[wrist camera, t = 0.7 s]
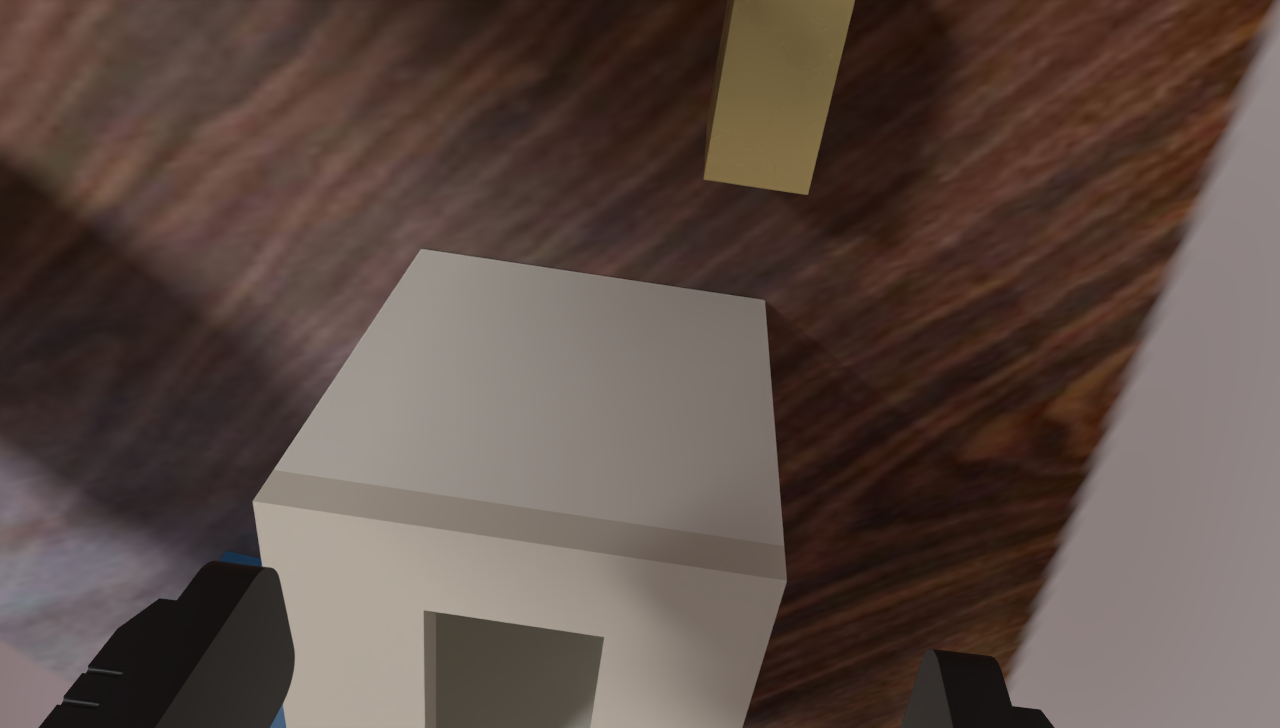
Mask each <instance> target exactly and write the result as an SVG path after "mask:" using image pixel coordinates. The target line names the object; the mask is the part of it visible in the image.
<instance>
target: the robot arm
mask: <svg viewBox="0 0 1280 728" xmlns="http://www.w3.org/2000/svg"><path fill="white" fill-rule="evenodd" d="M294 665H295V650H294V644H293V640H292V635H291V630H290V625H289V621H288V616H287V611H286V606H285V601H284V597H283V592H282V587H281V582H280V578H279V575H278V573H277V571H276V570H275V569H273V568H271V567H263V566H254V565H246V564H238V563H229V562H221V561H211V562H209V563H207V564H206V565H205V566H203V567H202V568H201V569H200V571H199V572H198V573H197V574H196V576H195V577H194V578H193V580H192V581H191V582H190V584H189V585H188V586H187V588H186V589H185V590H184V592H183V593H182V594H181V596H180V597H179V598H178V600H177V601H176V600H168V599H160V598H159V599H158V600H157V601H155V602H154V603H153V604H151V605H150V606H148V607H147V608H146V609H144V610H143V611H141V612H140V613H139V614H137V615H136V616H134V617H133V618H132V619H130V620H129V621H128V622H126V623H125V624H123V625H122V626H121V627H119V628H118V629H117V630H116V631H115V633H114V634H113V635H112V636H111V638H110V639H109V640H108V641H107V643H106V644H105V645H104V646H103V648H102V649H101V650H100V651H99V653H98V654H97V655H96V656H95V658H94V659H93V660H92V661H91V663H90V664H89V665H88V671H87V672H86V673H82V674H81V675H80V677H79V678H78V679H77V680H76V682H75V683H74V684H73V685H72V687H71V688H70V689H69V690H68V692H67V693H66V694H65V695H64V700H63V702H62V704H61V705H56V707H55V708H54V709H53V710H52V712H51V713H50V714H49V716H48V717H47V718H46V719H45V720H44V722H43V723H42V724H41V725H40V727H39V728H270V727H271V725H272V723H273V721H274V719H275V718H276V716H277V714H278V712H279V710H280V708H281V706H282V705H283V703H284V700H285V698H286V696H287V694H288V691H289V688H290V685H291V681H292V677H293V672H294ZM901 728H1054V727H1053V725H1052V724H1051V723H1050V721H1049V720H1048V719H1047V718H1046V716H1045V715H1044V714H1043V712H1042V711H1041V710H1039V709H1031V708H1022V707H1015V706H1012V704H1011V701H1010V698H1009V694H1008V691H1007V688H1006V684H1005V681H1004V678H1003V674H1002V671H1001V668H1000V666H999V664H998V662H997V661H996V659H995V658H993V657H991V656H984V655H976V654H968V653H959V652H951V651H943V650H934V649H928V650H927V651H926V652H925V654H924V656H923V658H922V661H921V664H920V668H919V671H918V674H917V677H916V680H915V683H914V687H913V690H912V693H911V696H910V699H909V702H908V706H907V709H906V712H905V715H904V718H903V721H902V724H901Z"/></svg>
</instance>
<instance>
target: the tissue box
mask: <svg viewBox="0 0 1280 728" xmlns="http://www.w3.org/2000/svg"><path fill="white" fill-rule="evenodd" d="M253 507H254V514H255V521H256V527H257V534H258V541H259V548H260V554H261V561H262V566H263V567H271V568H273V569H275V570H276V571H277V573H278V575H279V578H280V582H281V587H282V592H283V597H284V601H285V606H286V611H287V616H288V621H289V625H290V630H291V635H292V640H293V644H294V650H295V665H294V672H293V677H292V681H291V685H290V688H289V691H288V694H287V696H286V698H285V700H284V703H283V708H284V715H285V721H286V728H742V727H743V724H744V720H745V717H746V714H747V710H748V707H749V704H750V701H751V697H752V694H753V691H754V687H755V684H756V681H757V678H758V674H759V671H760V668H761V664H762V661H763V658H764V655H765V651H766V648H767V645H768V641H769V638H770V635H771V632H772V628H773V625H774V622H775V618H776V615H777V612H778V609H779V605H780V602H781V599H782V595H783V592H784V589H785V586H786V582H787V575H786V562H785V549H784V537H783V524H782V511H781V499H780V486H779V473H778V461H777V448H776V435H775V422H774V410H773V397H772V384H771V372H770V359H769V346H768V334H767V321H766V308H765V300H761V299H754V298H748V297H741V296H734V295H727V294H721V293H714V292H707V291H701V290H694V289H687V288H680V287H674V286H667V285H660V284H654V283H647V282H640V281H633V280H627V279H620V278H613V277H607V276H600V275H593V274H586V273H580V272H573V271H566V270H559V269H553V268H546V267H539V266H533V265H526V264H519V263H512V262H506V261H499V260H492V259H486V258H479V257H472V256H465V255H459V254H452V253H445V252H439V251H432V250H425V249H421V250H420V251H419V253H418V254H417V256H416V257H415V259H414V260H413V262H412V263H411V265H410V266H409V268H408V269H407V271H406V272H405V274H404V275H403V277H402V278H401V280H400V281H399V283H398V284H397V286H396V287H395V289H394V290H393V292H392V293H391V295H390V296H389V298H388V299H387V301H386V302H385V304H384V305H383V307H382V308H381V310H380V311H379V313H378V314H377V316H376V317H375V319H374V320H373V322H372V323H371V325H370V326H369V328H368V329H367V331H366V332H365V334H364V335H363V337H362V338H361V340H360V341H359V343H358V344H357V346H356V347H355V349H354V350H353V352H352V353H351V355H350V356H349V358H348V359H347V361H346V362H345V364H344V365H343V367H342V368H341V370H340V371H339V373H338V374H337V376H336V377H335V379H334V380H333V382H332V383H331V385H330V386H329V388H328V389H327V391H326V392H325V394H324V395H323V397H322V398H321V400H320V401H319V403H318V404H317V406H316V407H315V409H314V410H313V412H312V413H311V415H310V416H309V418H308V419H307V421H306V422H305V423H304V425H303V426H302V428H301V429H300V431H299V432H298V434H297V435H296V437H295V438H294V440H293V441H292V443H291V444H290V446H289V447H288V449H287V450H286V452H285V453H284V455H283V456H282V458H281V459H280V461H279V462H278V464H277V465H276V467H275V468H274V470H273V471H272V473H271V474H270V476H269V477H268V479H267V480H266V482H265V483H264V485H263V486H262V488H261V489H260V491H259V492H258V494H257V495H256V497H255V498H254V500H253Z"/></svg>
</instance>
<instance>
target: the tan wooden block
mask: <svg viewBox="0 0 1280 728" xmlns="http://www.w3.org/2000/svg"><path fill="white" fill-rule="evenodd" d="M854 2H855V0H727V3H726V9H725V15H724V21H723V27H722V33H721V39H720V45H719V51H718V57H717V63H716V69H715V75H714V81H713V87H712V93H711V99H710V105H709V111H708V117H707V133H706V149H705V165H704V180H711V181H717V182H724V183H731V184H737V185H744V186H751V187H757V188H764V189H771V190H777V191H784V192H791V193H797V194H804V195H808V192H809V188H810V184H811V180H812V176H813V172H814V168H815V164H816V159H817V155H818V151H819V147H820V143H821V139H822V135H823V130H824V126H825V122H826V118H827V114H828V110H829V106H830V101H831V97H832V93H833V89H834V85H835V81H836V77H837V73H838V68H839V64H840V60H841V56H842V52H843V48H844V44H845V39H846V35H847V31H848V27H849V23H850V19H851V15H852V10H853V6H854Z"/></svg>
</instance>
